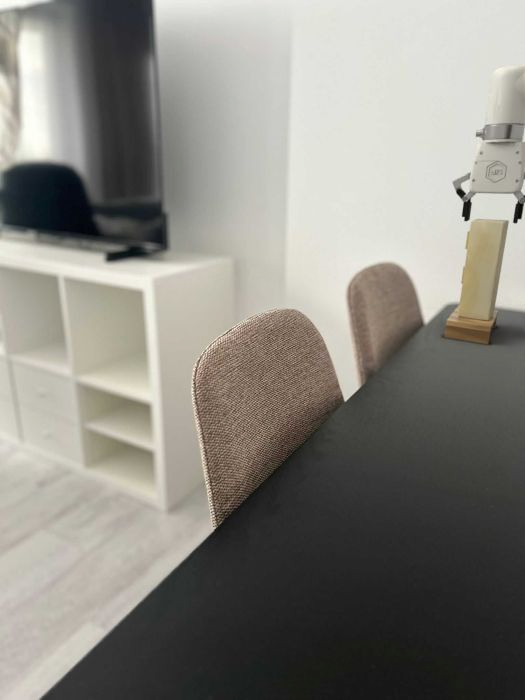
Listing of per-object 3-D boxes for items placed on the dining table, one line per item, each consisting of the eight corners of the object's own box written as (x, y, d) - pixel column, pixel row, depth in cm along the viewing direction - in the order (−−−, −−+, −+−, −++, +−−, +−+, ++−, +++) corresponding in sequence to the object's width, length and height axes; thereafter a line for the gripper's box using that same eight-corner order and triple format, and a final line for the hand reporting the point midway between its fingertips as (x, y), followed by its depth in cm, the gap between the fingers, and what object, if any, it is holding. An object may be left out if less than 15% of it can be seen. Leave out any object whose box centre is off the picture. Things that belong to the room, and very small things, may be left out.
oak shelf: (456, 320, 127) (458, 305, 125) (495, 326, 122) (498, 310, 121) (444, 337, 113) (446, 320, 112) (487, 344, 109) (491, 326, 108)
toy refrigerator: (460, 309, 122) (474, 218, 115) (493, 313, 118) (510, 220, 111) (453, 316, 115) (467, 220, 108) (488, 321, 111) (505, 222, 105)
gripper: (455, 135, 105) (445, 221, 111) (550, 132, 97) (534, 225, 103) (461, 137, 111) (451, 218, 117) (551, 135, 103) (536, 222, 109)
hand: (490, 221), depth 110 cm, fingers open, 9 cm apart
